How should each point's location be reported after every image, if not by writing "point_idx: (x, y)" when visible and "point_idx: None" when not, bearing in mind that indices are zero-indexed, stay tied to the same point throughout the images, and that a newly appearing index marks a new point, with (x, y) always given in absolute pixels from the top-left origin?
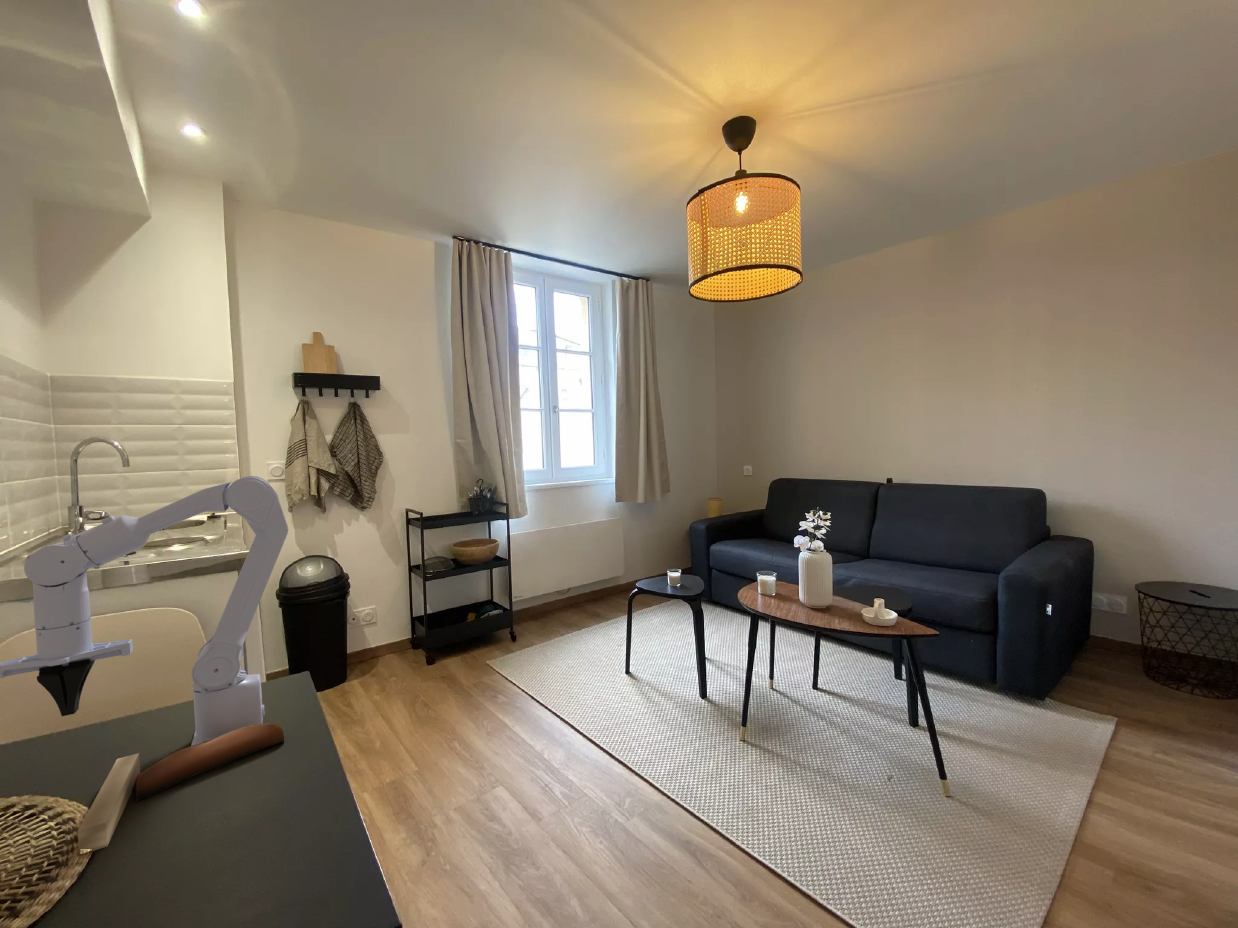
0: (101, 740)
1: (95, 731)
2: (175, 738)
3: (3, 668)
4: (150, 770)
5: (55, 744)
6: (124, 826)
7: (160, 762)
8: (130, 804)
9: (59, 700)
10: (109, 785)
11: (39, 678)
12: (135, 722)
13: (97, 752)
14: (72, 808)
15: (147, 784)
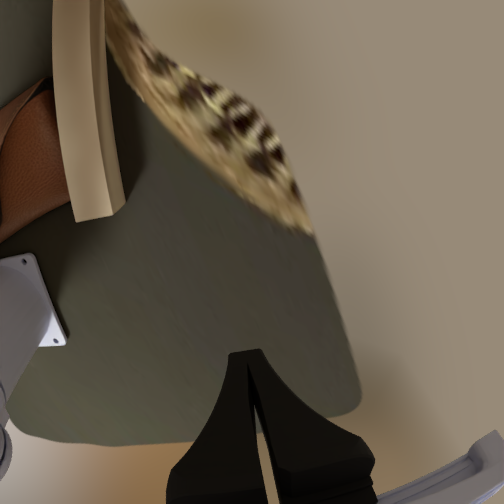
0: None
1: None
2: (95, 333)
3: (491, 473)
4: (18, 106)
5: (310, 396)
6: None
7: (5, 126)
8: None
9: (270, 382)
10: (79, 75)
11: (361, 450)
12: None
13: (226, 345)
14: (169, 110)
15: (30, 87)
